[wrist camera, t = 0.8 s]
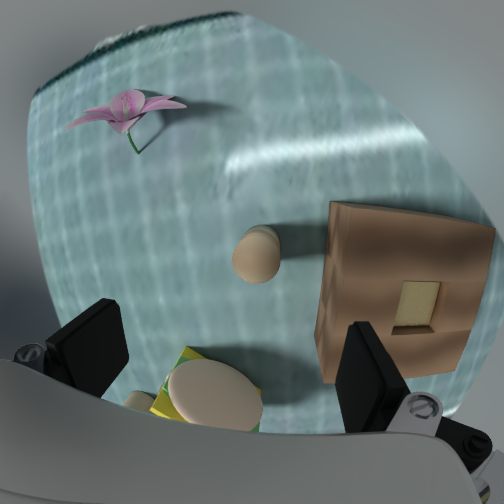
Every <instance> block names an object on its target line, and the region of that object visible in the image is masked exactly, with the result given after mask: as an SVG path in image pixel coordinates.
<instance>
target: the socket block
mask: <svg viewBox="0 0 504 504" xmlns="http://www.w3.org/2000/svg"><path fill="white" fill-rule="evenodd" d="M495 229H496V228H493V227H489V226H486V225H482V224H478V223H475V222H471V221H467V220H463V219H459V218H455V217H451V216H446V215H439V214H433V213H426V212H420V211H413V210H405V209H398V208H390V207H382V206H373V205H364V204H355V203H345V202H334V201H330V203H329V217H328V229H327V240H326V251H325V260H324V269H323V277H322V285H321V293H320V300H319V307H318V314H317V321H316V327H315V333H314V338H315V343H316V348H317V353H318V358H319V363H320V368H321V373H322V379H323V383H335V379H336V375H337V371H338V368H339V364H340V360H341V356H342V352H343V348H344V343H345V339H346V335H347V330H348V327H349V325H353V323H354V321H369V322H370V324H371V325H372V327H373V329H374V330H375V332H376V334H377V335H378V337H379V339H380V340H381V342H382V344H383V346H384V347H385V349H386V351H387V353H389V355H390V356H391V358H392V359H393V361H394V363H395V365H396V366H397V368H398V370H399V372H400V374H401V375H402V377H403V379H406V378H414V377H422V376H428V375H435V374H441V373H446V372H452V371H455V369H456V367H457V365H458V362H459V360H460V358H461V355H462V353H463V350H464V348H465V345H466V343H467V340H468V338H469V335H470V332H471V330H472V327H473V324H474V321H475V318H476V315H477V312H478V308H479V305H480V302H481V298H482V294H483V291H484V287H485V283H486V279H487V274H488V270H489V265H490V260H491V255H492V249H493V243H494V237H495ZM404 280H405V281H439V282H440V286H439V290H438V294H437V298H436V302H435V306H434V309H433V313H432V316H431V320H430V323H429V325H414V326H394V322H395V318H396V314H397V310H398V306H399V302H400V297H401V293H402V288H403V284H404Z"/></svg>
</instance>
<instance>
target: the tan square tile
mask: <svg viewBox="0 0 504 504" xmlns="http://www.w3.org/2000/svg"><path fill="white" fill-rule="evenodd" d="M439 286H440V282H439V281H405V280H404V284H403V288H402V293H401V297H400V302H399V306H398V310H397V314H396V318H395V322H394V326H414V325H429V323H430V320H431V316H432V313H433V309H434V306H435V302H436V298H437V294H438V290H439Z"/></svg>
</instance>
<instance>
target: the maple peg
mask: <svg viewBox="0 0 504 504" xmlns="http://www.w3.org/2000/svg"><path fill="white" fill-rule="evenodd" d="M232 263H233V267H234V269H235V271H236V273H237V274H238V275H239V276H240V277H241V278H242V279H243V280H245V281H247V282H250V283H264V282H266V281H268V280H270V279H272V278H273V277H274V276H275V275H276V273H277V272H278V270H279V267H280V239H279V236H278V234H277V233H276V231H275V230H274V229H272V228H271V227H269V226H266V225H256V226H254V227H252V228H250V229H249V230H248V231H247V232H246V233H245V235H244V236H243V238H242V239H241V241H240V242H239V244H238V245H237V246H236V248H235V250H234V252H233V256H232Z"/></svg>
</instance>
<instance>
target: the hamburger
mask: <svg viewBox="0 0 504 504" xmlns="http://www.w3.org/2000/svg"><path fill="white" fill-rule="evenodd" d="M150 411H151V412H153V413H155V414H156V415H158V416H161V417H165V418H170V419H174V420H179V421H183V422H188V423H194V424H199V425H205V426H211V427H218V428H225V429H232V430H241V431H251V432H259V424H260V419H261V417H262V412H263V405H262V400H261V389H259V388H258V387H256V386H254V385H253V384H252V383H251V381H250V380H249V379H248V378H247V377H246V376H244V375H243V374H242V373H240V372H239V371H238V370H236V369H234V368H233V367H230V366H228V365H226V364H224V363H221V362H218V361H214V360H208V359H206V358H205V357H203V356H201V355H200V354H198V353H197V352H195V351H193V350H192V349H190V348H189V347H187V346H186V347H185V348H184V350H183V352H182V353H181V355H180V357H179V359H178V361H177V362H176V364H175V366H174V368H173V369H172V370H171V371H170V373H169V374H168V376H167V378H166V381H165V383H164V384H163V385H162V386H161V388H160V390H159V393H158V396H157V398H156V400H155V402H154V403H153V405H152V407H151V409H150Z"/></svg>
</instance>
